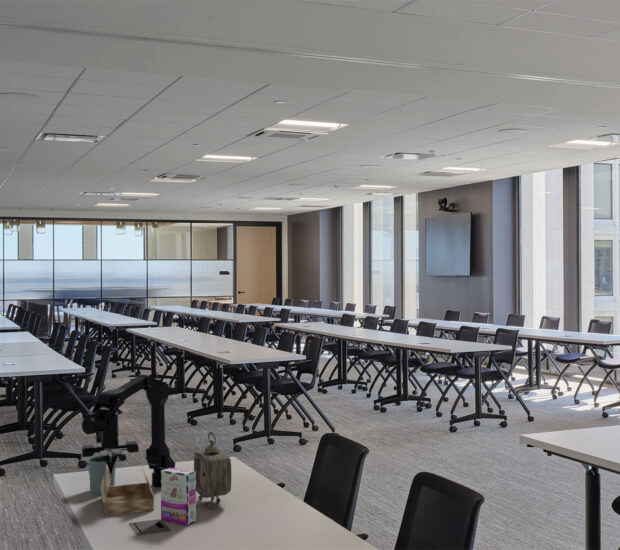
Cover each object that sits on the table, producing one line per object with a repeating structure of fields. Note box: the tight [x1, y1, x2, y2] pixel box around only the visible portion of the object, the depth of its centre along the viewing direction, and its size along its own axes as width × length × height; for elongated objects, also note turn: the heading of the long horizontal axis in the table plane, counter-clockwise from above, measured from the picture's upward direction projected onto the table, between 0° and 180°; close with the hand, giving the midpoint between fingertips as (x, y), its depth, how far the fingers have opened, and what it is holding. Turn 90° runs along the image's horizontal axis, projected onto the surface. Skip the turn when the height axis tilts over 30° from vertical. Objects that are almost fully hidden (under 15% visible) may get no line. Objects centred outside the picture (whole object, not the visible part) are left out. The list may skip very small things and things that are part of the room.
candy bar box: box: [160, 467, 197, 526], centre depth 240 cm, size 11×5×16 cm, turn 62°
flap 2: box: [139, 462, 156, 499], centre depth 260 cm, size 8×19×1 cm
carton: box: [101, 482, 155, 516], centre depth 257 cm, size 16×20×4 cm
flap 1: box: [100, 465, 111, 504], centre depth 255 cm, size 8×19×1 cm
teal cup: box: [87, 455, 117, 495], centre depth 273 cm, size 10×10×12 cm
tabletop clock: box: [193, 431, 232, 510], centre depth 258 cm, size 14×9×25 cm, turn 27°
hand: (110, 473), depth 255 cm, fingers closed
